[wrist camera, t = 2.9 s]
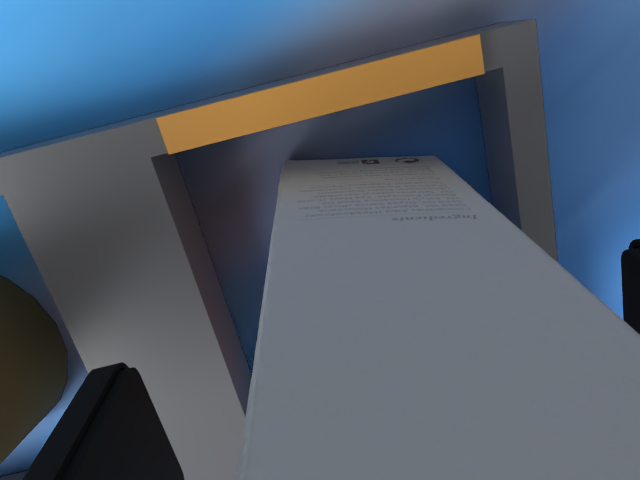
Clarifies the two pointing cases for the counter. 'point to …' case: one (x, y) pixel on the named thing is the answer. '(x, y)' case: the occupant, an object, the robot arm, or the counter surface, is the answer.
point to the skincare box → (428, 340)
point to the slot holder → (186, 236)
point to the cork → (27, 365)
